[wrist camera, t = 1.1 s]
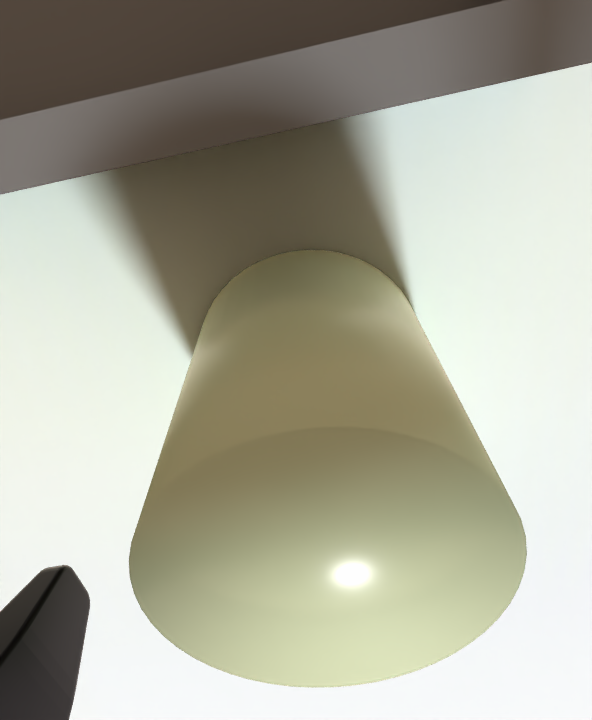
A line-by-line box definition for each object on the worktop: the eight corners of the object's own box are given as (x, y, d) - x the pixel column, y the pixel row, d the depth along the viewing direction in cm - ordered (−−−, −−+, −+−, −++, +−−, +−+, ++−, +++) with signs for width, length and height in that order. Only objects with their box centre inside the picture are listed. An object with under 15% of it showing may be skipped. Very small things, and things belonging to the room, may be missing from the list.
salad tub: (410, 226, 12) (533, 388, 6) (427, 423, 15) (521, 664, 9) (169, 275, 13) (60, 469, 7) (232, 456, 16) (197, 704, 9)
